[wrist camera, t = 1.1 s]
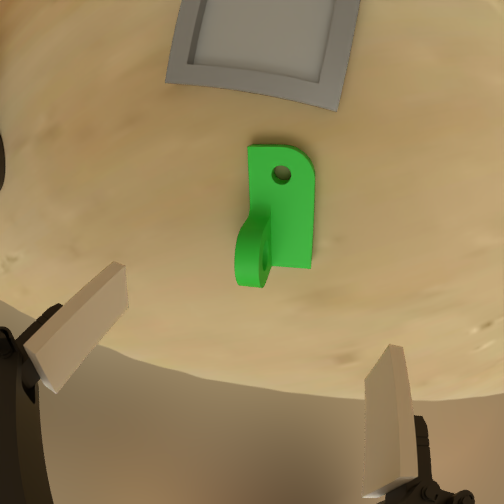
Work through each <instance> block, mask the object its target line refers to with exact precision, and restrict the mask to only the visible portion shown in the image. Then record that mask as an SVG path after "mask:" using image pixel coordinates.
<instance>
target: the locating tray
mask: <svg viewBox="0 0 504 504" xmlns="http://www.w3.org/2000/svg"><path fill="white" fill-rule="evenodd" d="M359 4H360V0H182V2H181V6H180V10H179V14H178V18H177V22H176V27H175V31H174V36H173V41H172V46H171V51H170V56H169V61H168V67H167V73H166V79H165V83H172V84H185V85H197V86H206V87H215V88H223V89H230V90H237V91H244V92H250V93H256V94H262V95H267V96H272V97H277V98H282V99H287V100H291V101H296V102H300V103H304V104H309V105H313V106H316V107H320V108H324V109H328V110H331V111H335V112H337V109H338V105H339V101H340V97H341V92H342V88H343V83H344V79H345V74H346V70H347V65H348V60H349V56H350V51H351V46H352V41H353V36H354V31H355V26H356V20H357V15H358V10H359Z"/></svg>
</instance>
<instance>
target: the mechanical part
mask: <svg viewBox="0 0 504 504" xmlns="http://www.w3.org/2000/svg"><path fill="white" fill-rule="evenodd" d="M247 148H248V171H249V194H250V211H249V216H248V218H247V220H246V221H245V223H244V224H243V226H242V227H241V229H240V231H239V234H238V238H237V242H236V249H235V277H236V281H237V283H238V285H240V286H249V287H259V288H263V287H264V285H265V283H266V280H267V277H268V275H269V272H270V269H271V266H281V267H294V268H307V269H311V261H312V245H313V225H314V201H315V170H314V166H313V164H312V162H311V160H310V158H309V157H308V156H307V155H306V154H305V153H304V152H303V151H302V150H300V149H298V148H296V147H294V146H291V145H280V144H252V145H250V146H248V147H247ZM280 165H282V166H285V167H287V168H288V169H289V170H290V172H291V178H290V179H288V180H281V179H279V178H277V176H276V175H275V171H274V170H275V167H276V166H280Z"/></svg>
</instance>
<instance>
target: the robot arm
mask: <svg viewBox="0 0 504 504" xmlns="http://www.w3.org/2000/svg"><path fill="white" fill-rule="evenodd" d="M4 171H5V162H4V151H3V145H2V141H1V137H0V190H1V187H2V185H3V180H4ZM128 308H129V304H128V294H127V282H126V268H125V265H122V264H119V263H117V262H114V261H113V262H112V263H111V264H110V265H108V266H107V267H106V268H105V269H104V270H103V271H101V272H100V273H99V274H98V275H97V276H96V277H95V278H93V279H92V280H91V281H90V282H89V283H88V284H87V285H85V286H84V287H83V288H82V289H81V290H80V291H79V292H78V293H77V294H75V295H74V296H73V297H72V298H71V299H70V300H69V301H68V302H67V303H66V304H65V305H64V306H63V305H61V304H59V303H58V304H56V305H54V306H52V307H50V308H48V309H47V310H46V311H45V312H44V313H43V314H42V316H40V317H39V318H38V319H37V320H36V322H34V323H33V324H31V325H30V327H28V328H27V329H26V330H25V331H24V332H23V333H22V334H21V335H20V336H19V337H18V338H17V339H16V340H15V339H14V337H13V335H12V333H11V331H10V330H9V329H8V328H6V327H0V504H53V499H52V495H51V491H50V486H49V481H48V477H47V471H46V465H45V459H44V452H43V444H42V435H41V425H40V410H39V387H38V380H39V379H40V378H41V380H42V382H43V383H44V385H45V386H46V387H47V388H49V389H50V390H51V391H53V392H54V393H56V394H57V393H58V392H59V390H60V389H61V388H62V386H63V385H64V384H65V383H66V381H67V380H68V379H69V377H70V376H71V375H72V374H73V373H74V371H75V370H76V369H77V368H78V366H79V365H80V364H81V363H82V362H83V360H84V359H85V358H86V357H87V355H88V354H89V353H90V352H91V351H92V349H93V348H94V347H95V346H96V345H97V344H98V342H99V341H100V340H101V339H102V338H103V336H104V335H105V334H106V333H107V332H108V331H109V329H110V328H111V327H112V326H113V325H114V324H115V323H116V321H117V320H118V319H119V318H120V317H121V316H122V314H123V313H124V312H125V311H126V310H127V309H128ZM385 494H386V497H385V500H384V501H382V502H379V503H377V504H475V500H474V496H473V494H472V493H471V492H470V491H468V490H463V491H460V492H458V493H456V494H454V493H450V492H447V491H443V490H441V489H440V487H439V485H438V484H437V482H435V481H433V479H432V474H431V458H430V448H429V439H428V429H427V425H426V423H425V421H424V419H423V417H422V416H415V415H414V414H413V407H412V399H411V392H410V385H409V379H408V373H407V367H406V361H405V356H404V351H403V347H400V346H396V345H391V344H389V345H388V347H387V348H386V350H385V351H384V353H383V354H382V356H381V357H380V359H379V360H378V362H377V363H376V364H375V366H374V367H373V369H372V370H371V371H370V373H369V374H368V376H367V377H366V378H365V453H364V473H363V486H362V498H378V497H381V496H382V495H385Z"/></svg>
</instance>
